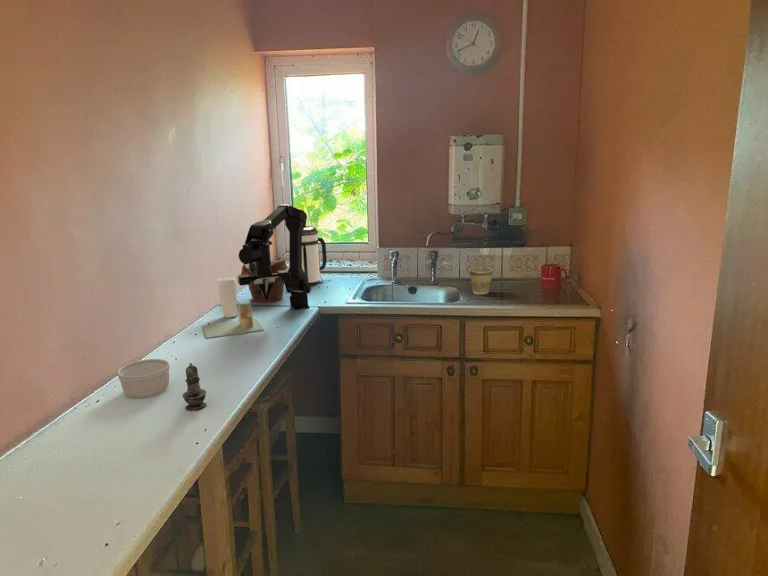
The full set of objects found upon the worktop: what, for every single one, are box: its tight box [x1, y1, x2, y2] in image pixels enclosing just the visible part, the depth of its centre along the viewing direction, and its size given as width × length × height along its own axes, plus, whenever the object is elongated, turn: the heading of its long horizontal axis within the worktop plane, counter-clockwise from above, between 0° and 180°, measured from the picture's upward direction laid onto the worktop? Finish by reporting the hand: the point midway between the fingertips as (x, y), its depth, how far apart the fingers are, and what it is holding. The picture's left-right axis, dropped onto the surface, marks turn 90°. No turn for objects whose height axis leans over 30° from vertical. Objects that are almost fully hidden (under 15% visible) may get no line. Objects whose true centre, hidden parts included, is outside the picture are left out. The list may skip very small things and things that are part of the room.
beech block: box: [237, 299, 253, 328], centre depth 218 cm, size 4×6×9 cm, turn 21°
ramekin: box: [117, 358, 171, 399], centre depth 163 cm, size 13×13×7 cm
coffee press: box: [302, 225, 327, 284], centre depth 281 cm, size 17×16×30 cm
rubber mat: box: [202, 317, 265, 339], centre depth 217 cm, size 20×16×1 cm
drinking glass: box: [217, 276, 238, 318], centre depth 231 cm, size 7×7×15 cm
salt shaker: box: [182, 362, 207, 412], centre depth 151 cm, size 6×6×12 cm
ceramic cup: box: [468, 267, 494, 296], centre depth 254 cm, size 13×10×10 cm
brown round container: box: [240, 258, 289, 303], centre depth 255 cm, size 18×20×18 cm
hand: (266, 300), depth 220 cm, fingers closed
